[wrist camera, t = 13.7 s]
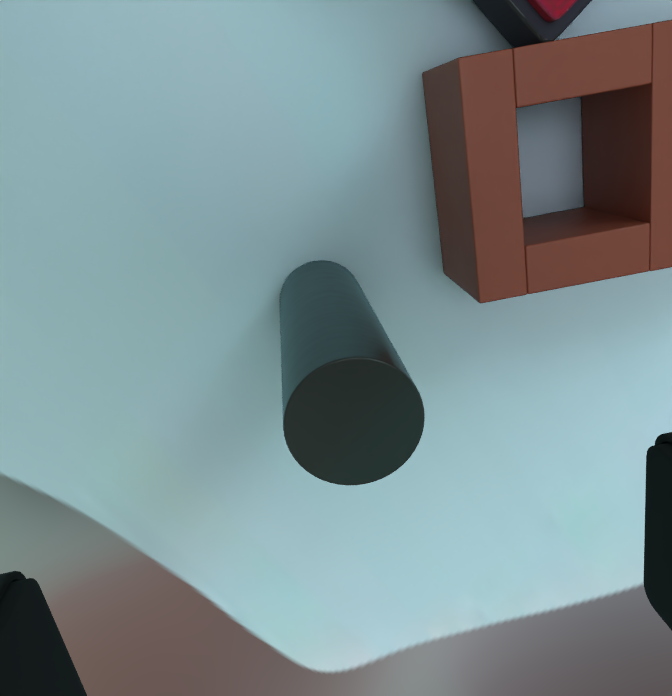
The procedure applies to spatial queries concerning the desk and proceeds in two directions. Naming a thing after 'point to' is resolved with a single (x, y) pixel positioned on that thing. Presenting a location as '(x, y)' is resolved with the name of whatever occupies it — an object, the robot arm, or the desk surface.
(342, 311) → the peg
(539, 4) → the calculator
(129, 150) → the desk surface
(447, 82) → the hollow brick
